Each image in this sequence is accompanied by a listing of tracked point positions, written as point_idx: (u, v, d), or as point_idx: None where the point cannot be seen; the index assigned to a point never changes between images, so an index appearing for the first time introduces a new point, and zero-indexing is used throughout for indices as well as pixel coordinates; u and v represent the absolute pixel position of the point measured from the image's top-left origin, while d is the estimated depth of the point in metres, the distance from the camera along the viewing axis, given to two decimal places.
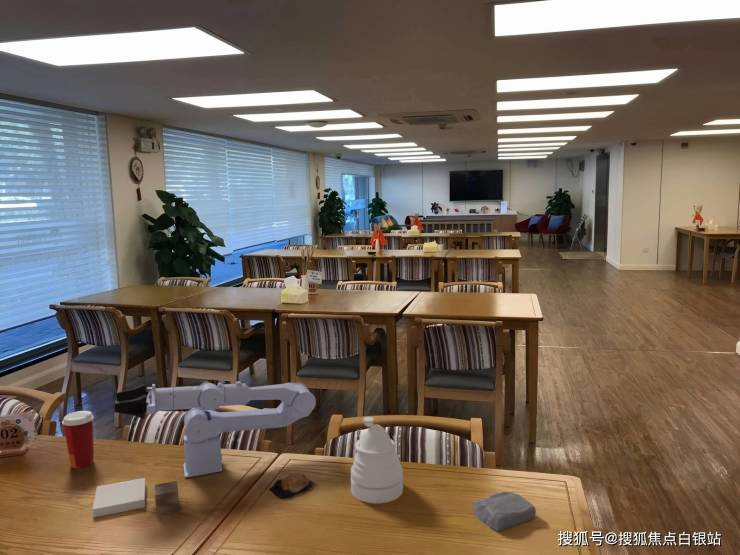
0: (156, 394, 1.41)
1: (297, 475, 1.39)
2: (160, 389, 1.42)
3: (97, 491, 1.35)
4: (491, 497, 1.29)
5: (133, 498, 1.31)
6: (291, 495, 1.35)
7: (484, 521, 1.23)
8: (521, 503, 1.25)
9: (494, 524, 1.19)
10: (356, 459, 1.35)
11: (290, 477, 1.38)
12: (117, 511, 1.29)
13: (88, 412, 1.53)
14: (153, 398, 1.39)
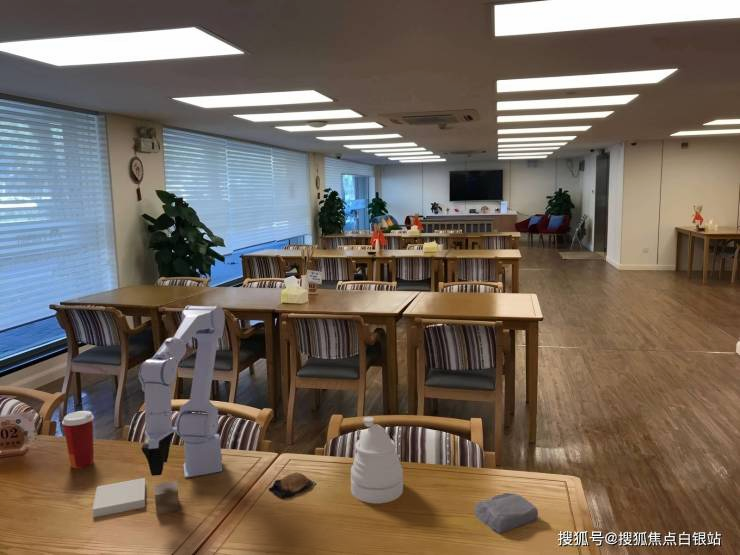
0: None
1: (296, 475, 1.39)
2: (171, 422, 1.30)
3: (97, 491, 1.35)
4: (493, 498, 1.29)
5: (133, 498, 1.31)
6: (291, 495, 1.35)
7: (486, 523, 1.22)
8: (523, 504, 1.24)
9: (496, 526, 1.19)
10: (356, 459, 1.35)
11: (289, 477, 1.38)
12: (117, 511, 1.29)
13: (88, 412, 1.53)
14: None
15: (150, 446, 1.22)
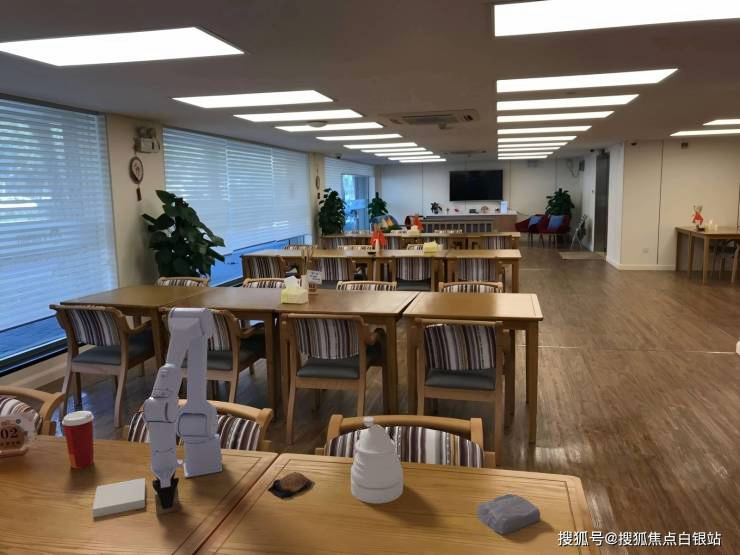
0: None
1: (295, 474, 1.39)
2: None
3: (97, 491, 1.35)
4: (495, 500, 1.28)
5: (133, 498, 1.31)
6: (291, 494, 1.35)
7: (488, 525, 1.21)
8: (526, 505, 1.23)
9: (499, 528, 1.18)
10: (356, 459, 1.35)
11: (289, 476, 1.38)
12: (117, 511, 1.29)
13: (88, 412, 1.53)
14: None
15: (162, 485, 1.23)
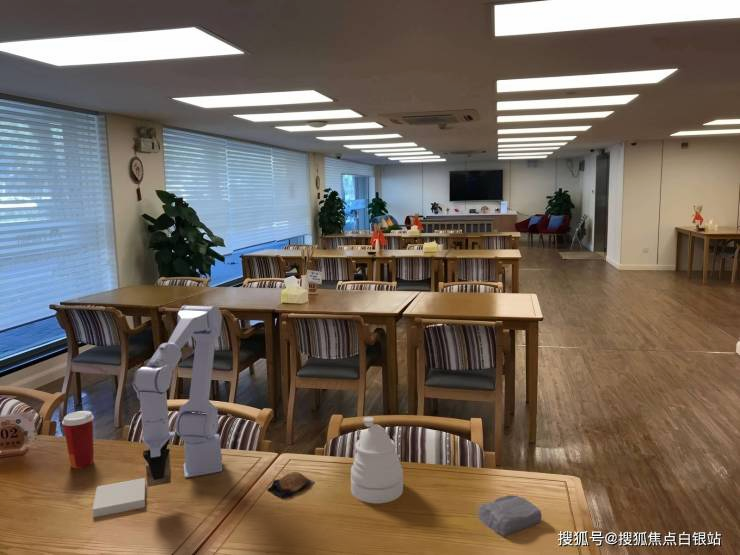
0: None
1: (295, 474, 1.39)
2: None
3: (97, 491, 1.35)
4: (496, 501, 1.28)
5: (133, 498, 1.31)
6: (291, 494, 1.35)
7: (489, 526, 1.21)
8: (527, 506, 1.23)
9: (500, 529, 1.18)
10: (356, 459, 1.35)
11: (288, 476, 1.39)
12: (117, 511, 1.29)
13: (88, 412, 1.53)
14: None
15: (152, 455, 1.22)
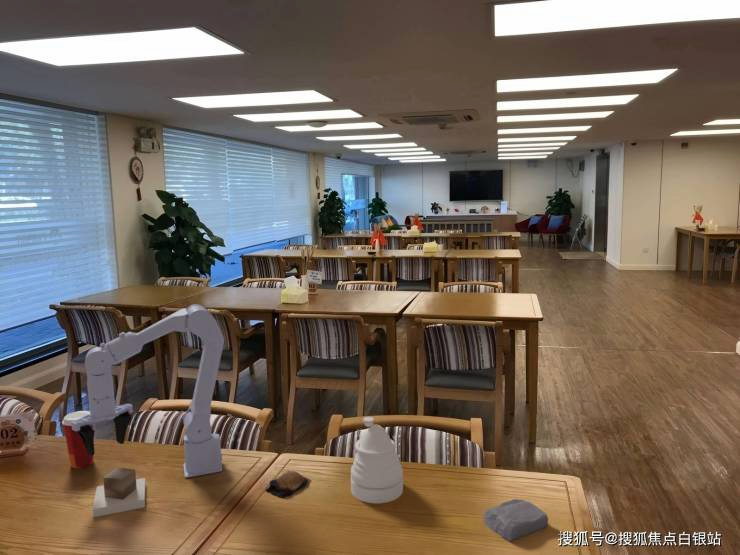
0: (114, 411, 1.38)
1: (292, 473, 1.40)
2: (110, 409, 1.36)
3: (97, 491, 1.35)
4: (501, 505, 1.26)
5: (133, 498, 1.31)
6: (291, 493, 1.36)
7: (496, 531, 1.19)
8: (533, 511, 1.21)
9: (507, 534, 1.16)
10: (356, 459, 1.35)
11: (286, 476, 1.39)
12: (117, 511, 1.29)
13: (88, 412, 1.53)
14: (122, 410, 1.40)
15: (72, 427, 1.33)
